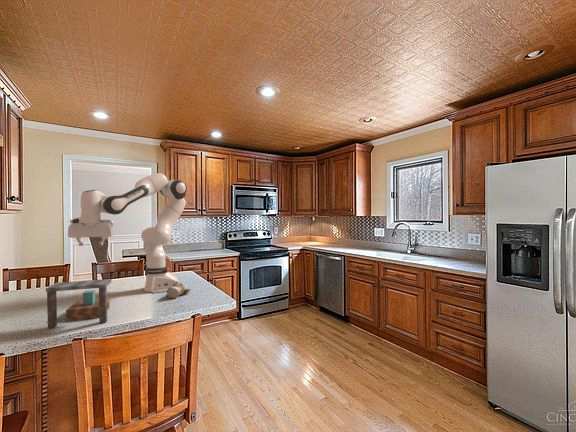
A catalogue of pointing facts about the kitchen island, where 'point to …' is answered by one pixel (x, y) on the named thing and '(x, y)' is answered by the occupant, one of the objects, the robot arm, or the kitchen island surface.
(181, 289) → the ceramic sculpture
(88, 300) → the peg
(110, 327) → the kitchen island surface
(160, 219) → the robot arm
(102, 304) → the grey miniature side table
